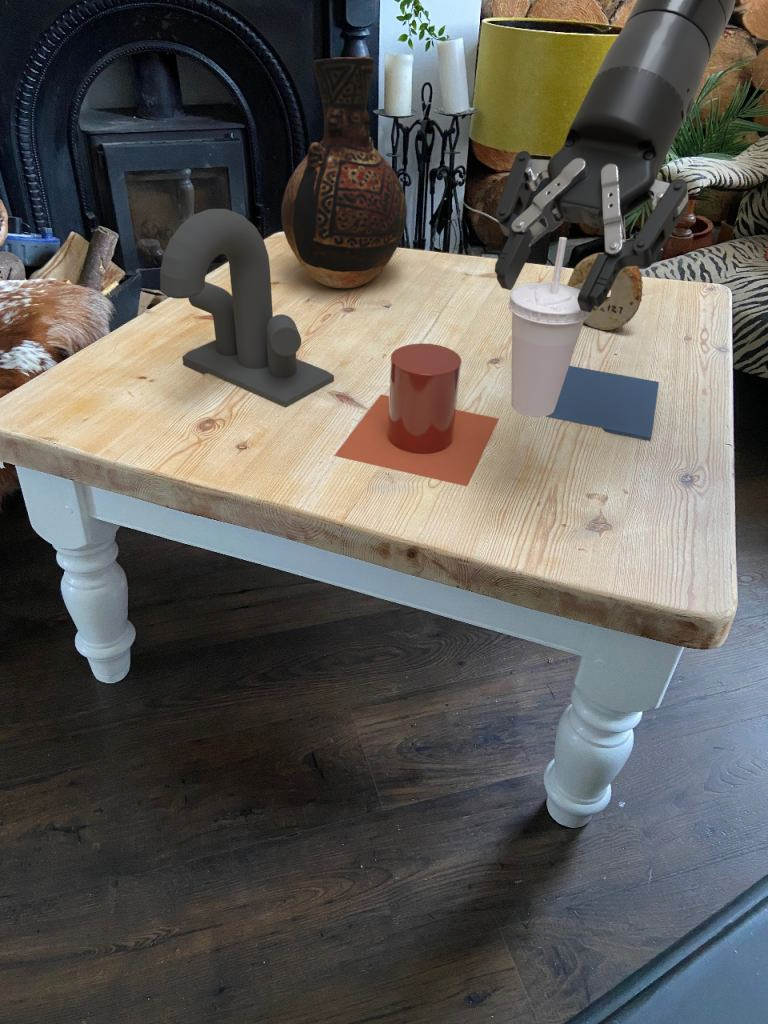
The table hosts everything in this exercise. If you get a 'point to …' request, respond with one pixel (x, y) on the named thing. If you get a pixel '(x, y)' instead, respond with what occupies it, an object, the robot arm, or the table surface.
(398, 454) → the terracotta mat
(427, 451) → the canister
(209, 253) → the faucet
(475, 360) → the table surface
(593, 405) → the blue mat
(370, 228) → the ceramic vessel
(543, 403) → the smoothie
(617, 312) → the stone disc
